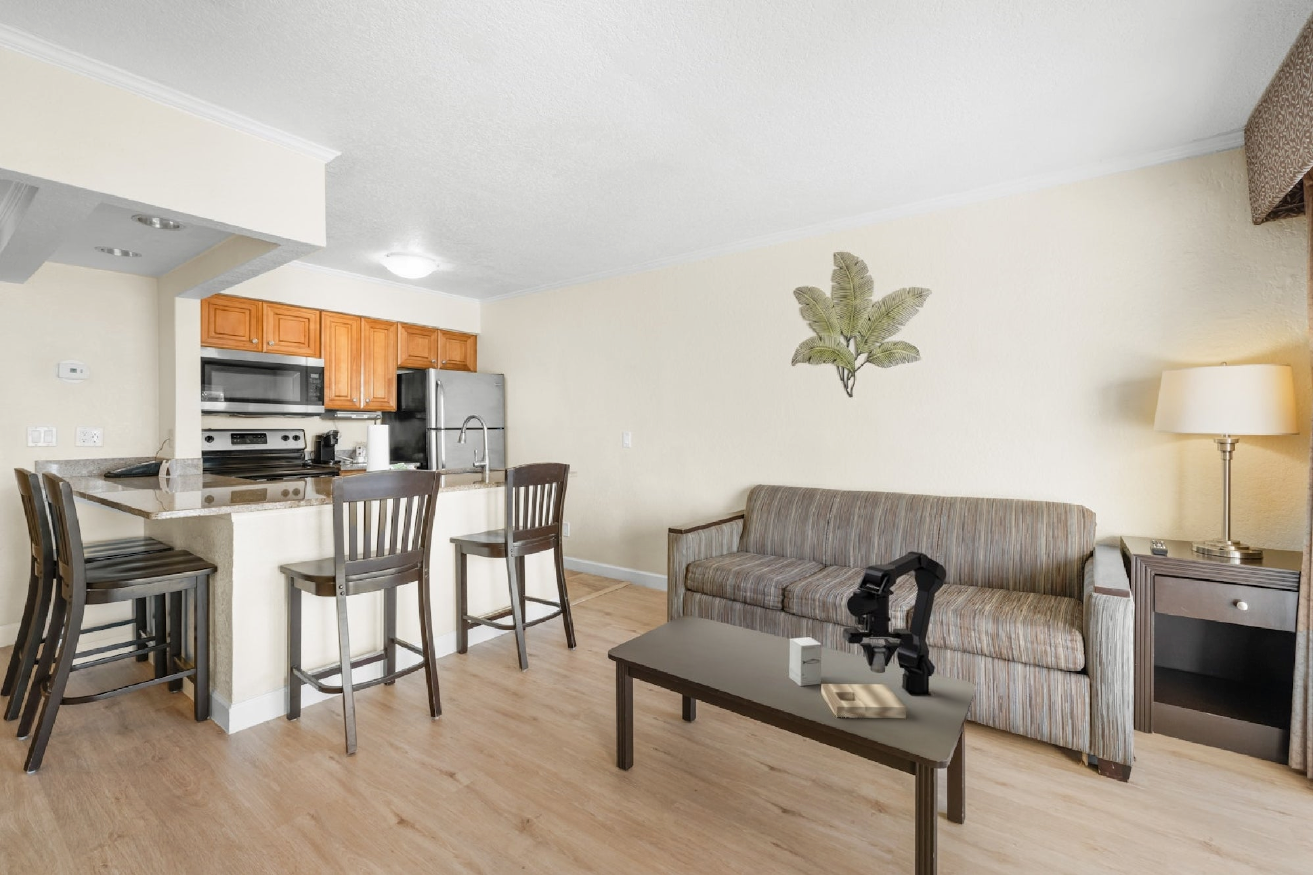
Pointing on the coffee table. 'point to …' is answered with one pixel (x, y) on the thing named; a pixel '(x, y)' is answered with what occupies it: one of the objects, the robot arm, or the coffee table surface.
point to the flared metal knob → (878, 657)
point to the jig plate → (863, 701)
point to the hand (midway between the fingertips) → (877, 665)
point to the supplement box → (805, 661)
